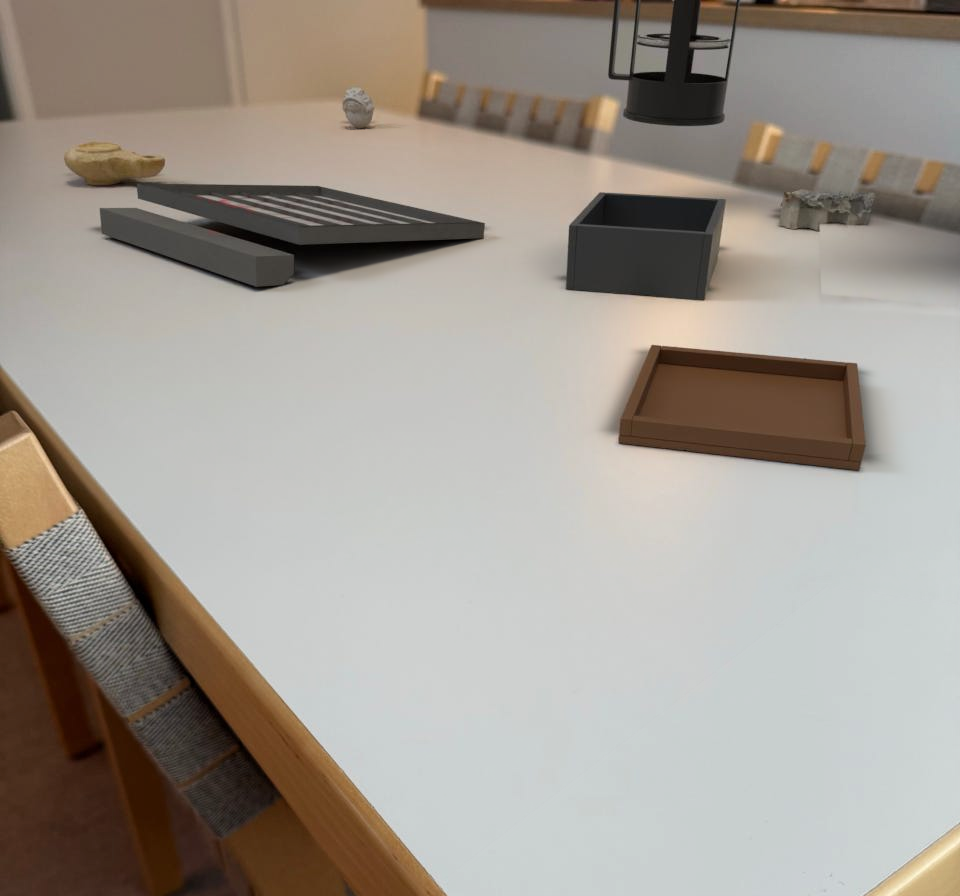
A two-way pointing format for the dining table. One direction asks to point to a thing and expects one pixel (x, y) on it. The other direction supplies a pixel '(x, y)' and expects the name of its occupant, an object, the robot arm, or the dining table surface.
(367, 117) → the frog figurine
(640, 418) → the tray
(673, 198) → the holder
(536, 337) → the dining table surface
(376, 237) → the dark grey wedge stand
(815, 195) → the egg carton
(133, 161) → the oil lamp
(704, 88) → the french press
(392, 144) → the dining table surface
